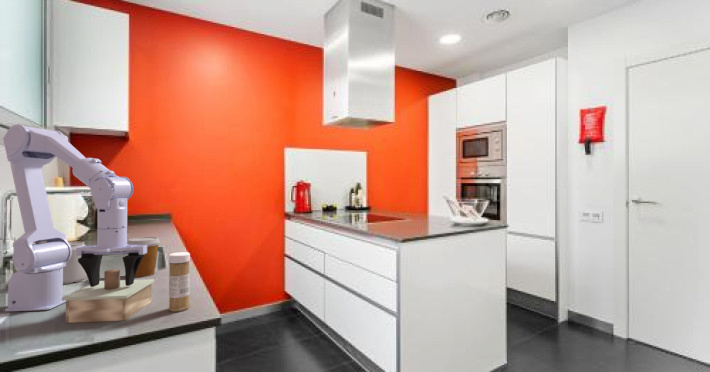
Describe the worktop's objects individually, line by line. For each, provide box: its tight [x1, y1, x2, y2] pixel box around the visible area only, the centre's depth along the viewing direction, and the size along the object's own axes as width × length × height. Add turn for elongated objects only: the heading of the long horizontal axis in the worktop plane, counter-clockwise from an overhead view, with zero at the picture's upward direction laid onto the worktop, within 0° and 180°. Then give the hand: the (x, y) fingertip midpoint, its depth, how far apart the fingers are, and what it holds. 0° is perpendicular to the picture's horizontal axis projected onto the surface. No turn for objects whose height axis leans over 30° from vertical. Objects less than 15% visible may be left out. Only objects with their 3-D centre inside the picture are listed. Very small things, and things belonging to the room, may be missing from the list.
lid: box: [62, 268, 155, 301], centre depth 79 cm, size 13×13×5 cm
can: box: [63, 241, 88, 285], centre depth 104 cm, size 8×8×12 cm
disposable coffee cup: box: [127, 236, 161, 278], centre depth 112 cm, size 10×10×12 cm
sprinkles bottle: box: [168, 251, 191, 313], centre depth 81 cm, size 5×5×14 cm
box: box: [65, 283, 152, 324], centre depth 79 cm, size 12×12×5 cm
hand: (112, 285), depth 79 cm, fingers open, 7 cm apart
